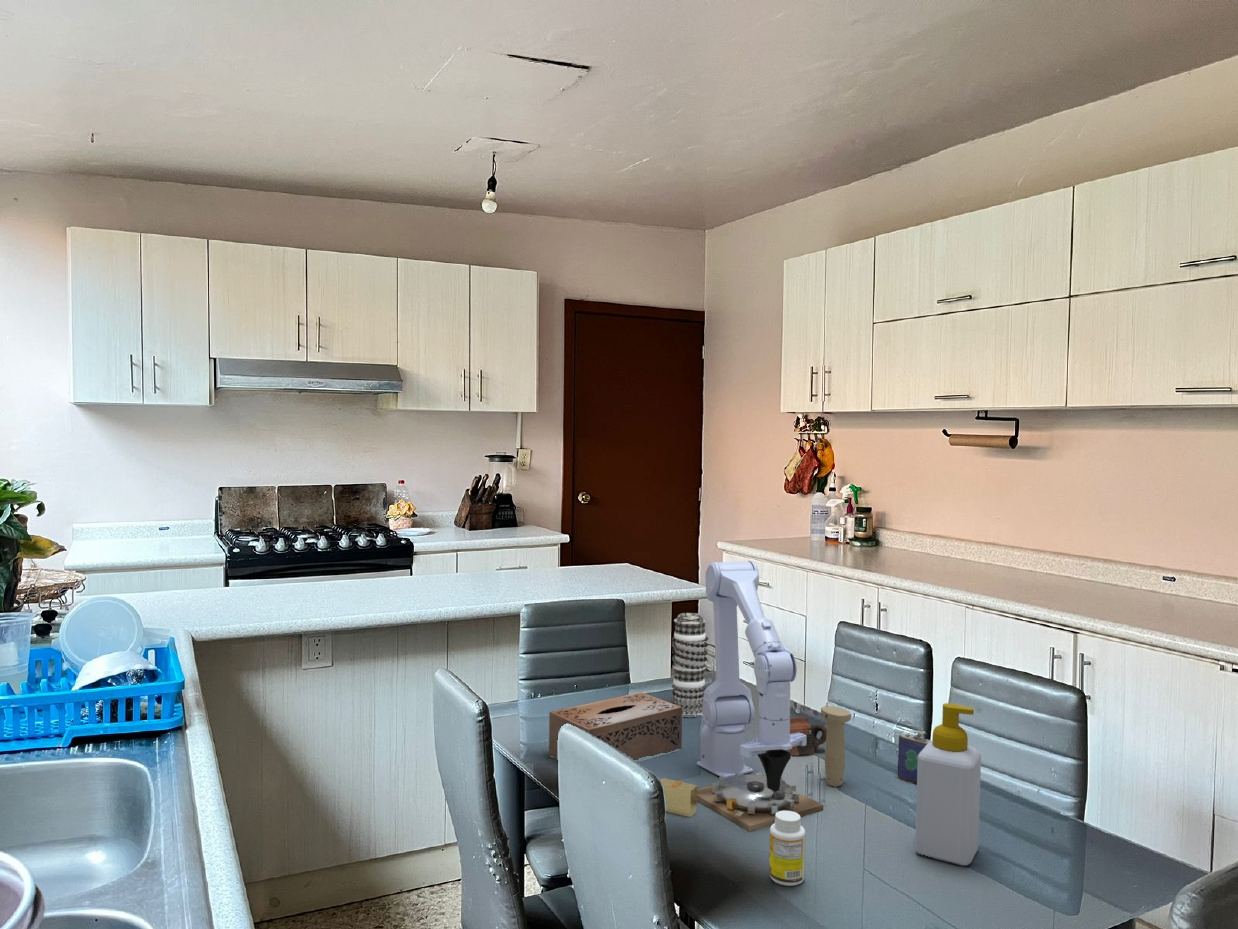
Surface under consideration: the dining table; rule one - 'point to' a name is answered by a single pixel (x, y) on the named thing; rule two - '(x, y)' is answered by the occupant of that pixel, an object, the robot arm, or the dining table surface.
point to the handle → (835, 743)
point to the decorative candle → (689, 662)
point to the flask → (910, 755)
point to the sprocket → (754, 793)
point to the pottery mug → (807, 736)
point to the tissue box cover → (625, 724)
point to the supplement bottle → (787, 849)
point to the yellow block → (680, 797)
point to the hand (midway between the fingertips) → (773, 789)
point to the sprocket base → (759, 818)
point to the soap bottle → (948, 792)
